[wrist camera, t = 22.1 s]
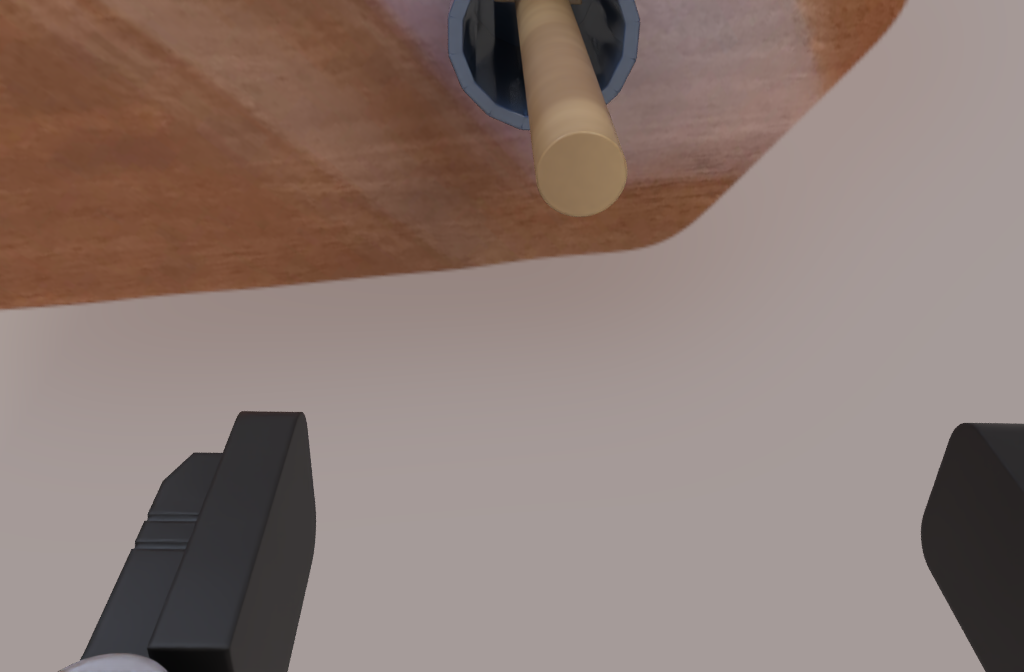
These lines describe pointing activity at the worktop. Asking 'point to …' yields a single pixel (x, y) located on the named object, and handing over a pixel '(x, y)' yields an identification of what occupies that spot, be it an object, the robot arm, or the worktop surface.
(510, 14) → the crock
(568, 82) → the wooden stirring stick
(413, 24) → the worktop surface
